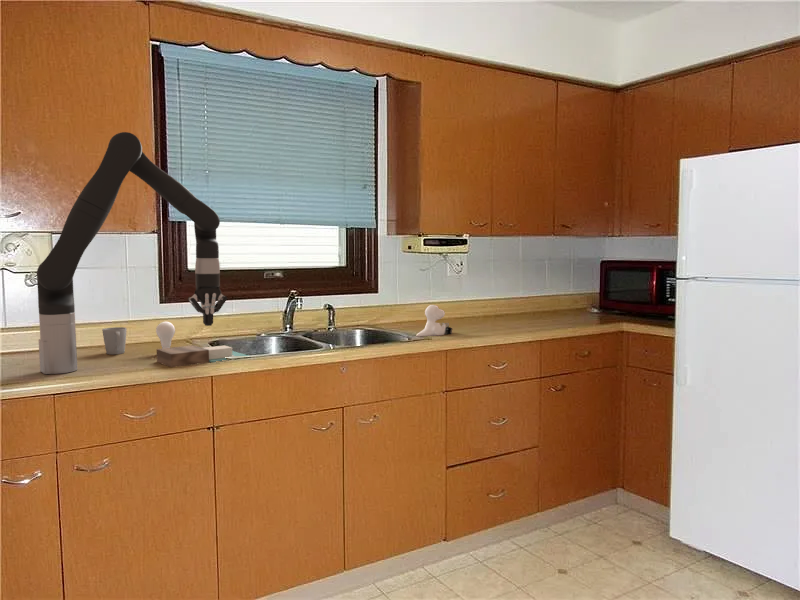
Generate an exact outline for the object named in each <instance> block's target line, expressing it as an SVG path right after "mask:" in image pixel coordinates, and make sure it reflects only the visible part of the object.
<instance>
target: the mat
mask: <svg viewBox="0 0 800 600" xmlns="http://www.w3.org/2000/svg"><path fill="white" fill-rule="evenodd" d="M232 355H234V356H250V355H249V354H244V353H241V352H237V351H234V350H232ZM222 360H227V359H226V358H218V359H209V362H208V363H211V362H212V363H217V362H216V361H220V362H223V361H222Z"/></svg>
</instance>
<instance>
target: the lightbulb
mask: <svg viewBox="0 0 800 600" xmlns="http://www.w3.org/2000/svg"><path fill="white" fill-rule="evenodd" d="M175 333H176V327H175V326H174V324H173V323H172V322H170V321H162V322H160V323H159V324H158V325H157V326H156V327H155V334H156V335H157V337H158V339H159V341H160V346H161V349H164V348H171V346H172V341H173V337H174V335H175Z"/></svg>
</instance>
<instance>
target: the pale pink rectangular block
mask: <svg viewBox="0 0 800 600" xmlns="http://www.w3.org/2000/svg"><path fill="white" fill-rule="evenodd" d="M203 348H204V349H208V350H209V359H218V358H225V357H229V356H232V351H233V347H232V346H228V345H225V344H224V345H217V346H209V347H205V346H204V347H203Z"/></svg>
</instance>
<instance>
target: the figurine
mask: <svg viewBox="0 0 800 600" xmlns="http://www.w3.org/2000/svg"><path fill="white" fill-rule="evenodd" d="M424 315H425V317H426V324H425V327H424V328H423V329H422V330H420V331H419V332H418V333H417V334H416V335H415V336H416V337H418V338H419V337H432V336H433V337H435V336H437V337H438V336H444V335H452V334H453V328H452V327H451V326H450V322H445V323H444V322H442V323H441V322H437V321H438V320H441V319H443V318H444V317H445V315H446V313H445V310H444V309H441V308H439V306H438V305H435V304H430V305H428V306H427V307H426V308H425V310H424Z"/></svg>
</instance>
